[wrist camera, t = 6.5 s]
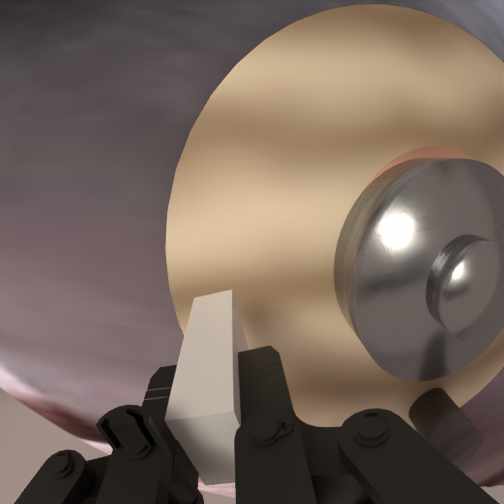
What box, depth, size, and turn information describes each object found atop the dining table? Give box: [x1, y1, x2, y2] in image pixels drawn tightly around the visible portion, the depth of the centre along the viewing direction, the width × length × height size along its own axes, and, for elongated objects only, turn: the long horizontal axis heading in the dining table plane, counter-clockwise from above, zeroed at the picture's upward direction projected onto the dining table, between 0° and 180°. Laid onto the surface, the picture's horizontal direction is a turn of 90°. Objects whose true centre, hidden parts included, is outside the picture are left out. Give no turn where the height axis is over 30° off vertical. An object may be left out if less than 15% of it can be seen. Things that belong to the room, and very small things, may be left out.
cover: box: [334, 158, 504, 381], centre depth 12 cm, size 10×10×4 cm
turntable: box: [166, 4, 504, 467], centre depth 13 cm, size 26×26×7 cm
